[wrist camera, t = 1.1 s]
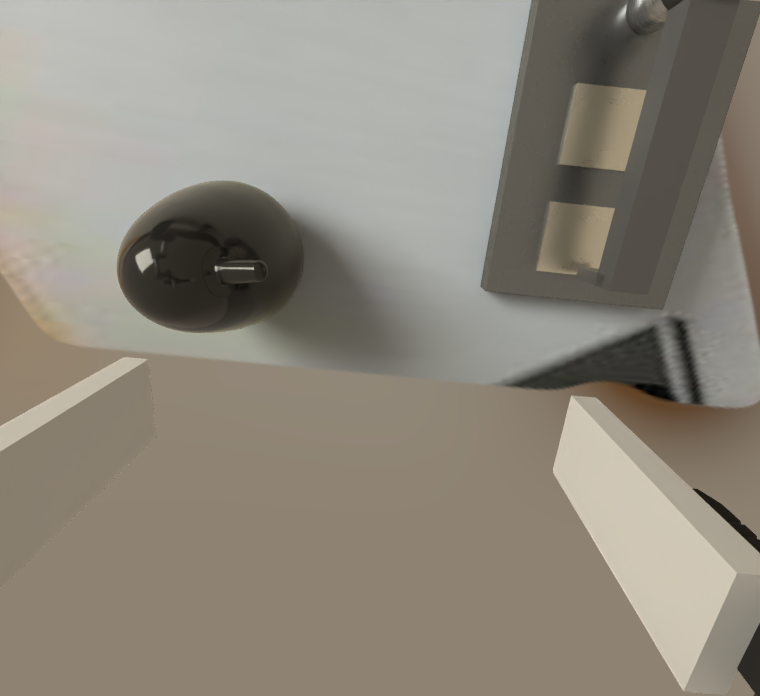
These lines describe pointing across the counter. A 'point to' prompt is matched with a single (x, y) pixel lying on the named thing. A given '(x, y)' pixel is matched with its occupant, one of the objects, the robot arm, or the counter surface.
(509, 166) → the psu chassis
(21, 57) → the counter surface
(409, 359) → the counter surface
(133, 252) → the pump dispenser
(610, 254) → the lever
